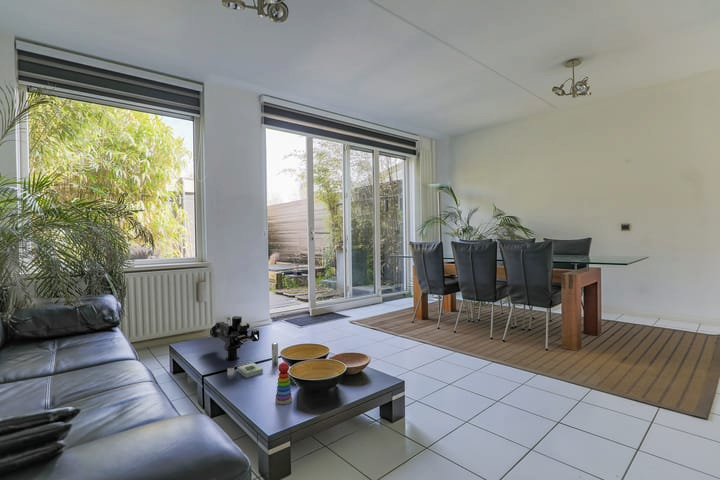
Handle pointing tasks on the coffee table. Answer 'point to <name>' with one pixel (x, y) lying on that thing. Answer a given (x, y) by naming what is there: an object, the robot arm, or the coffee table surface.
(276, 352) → the tall pin
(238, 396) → the coffee table surface
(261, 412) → the coffee table surface
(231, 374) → the short pin
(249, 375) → the hole plate
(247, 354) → the coffee table surface
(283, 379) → the stacking toy
